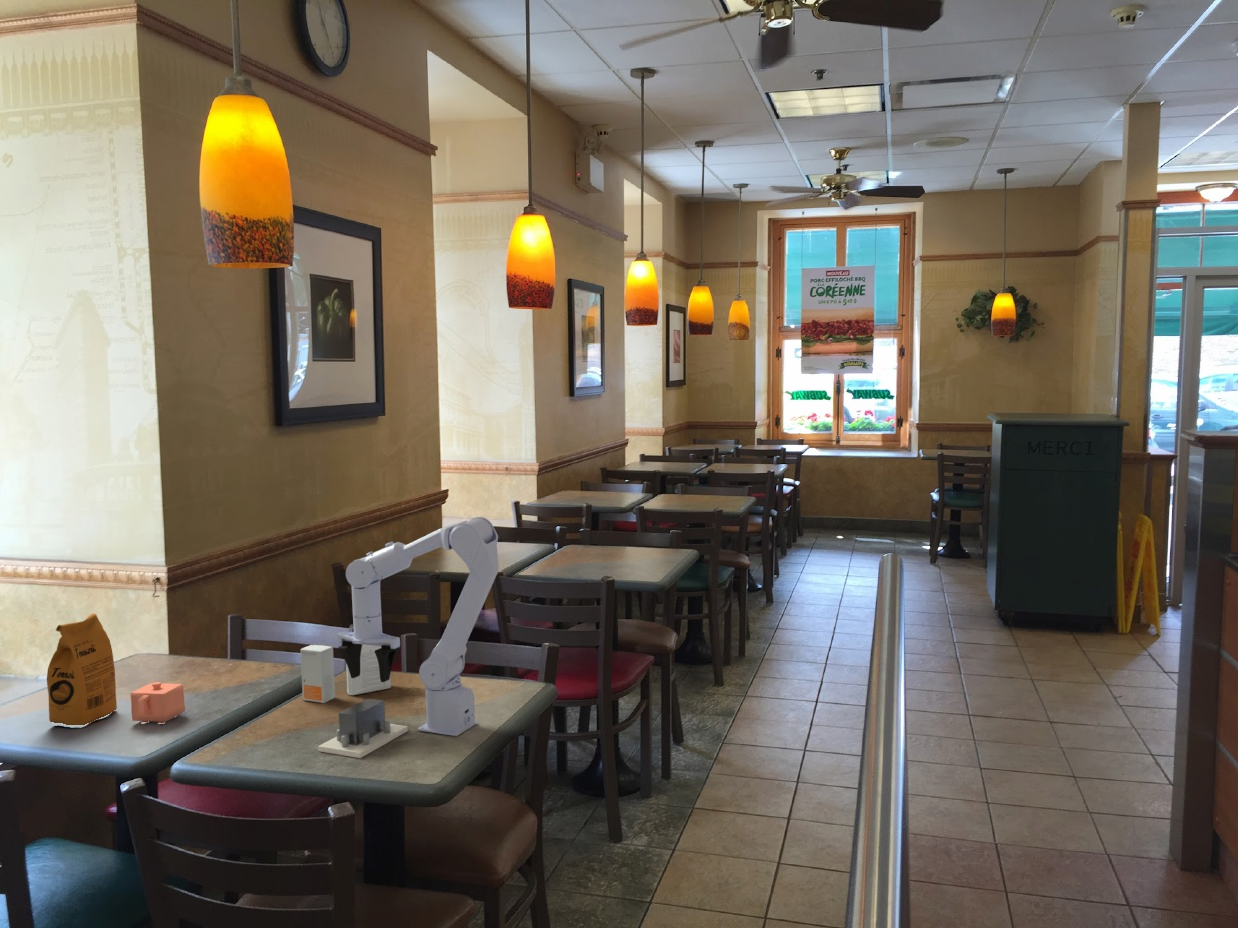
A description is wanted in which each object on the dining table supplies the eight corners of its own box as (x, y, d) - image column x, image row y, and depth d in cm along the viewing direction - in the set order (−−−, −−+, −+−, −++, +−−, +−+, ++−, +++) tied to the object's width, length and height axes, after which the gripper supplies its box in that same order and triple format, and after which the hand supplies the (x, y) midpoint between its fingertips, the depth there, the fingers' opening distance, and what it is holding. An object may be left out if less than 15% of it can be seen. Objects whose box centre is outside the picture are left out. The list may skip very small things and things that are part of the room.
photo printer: (387, 683, 226) (385, 632, 225) (394, 688, 223) (392, 636, 222) (344, 692, 221) (342, 640, 220) (350, 697, 217) (348, 644, 216)
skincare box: (302, 700, 215) (299, 648, 214) (314, 694, 219) (312, 643, 218) (323, 703, 213) (321, 651, 212) (336, 697, 217) (333, 646, 216)
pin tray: (407, 730, 195) (406, 716, 195) (360, 758, 182) (359, 742, 181) (367, 724, 199) (367, 710, 199) (318, 751, 186) (317, 735, 185)
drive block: (385, 729, 194) (384, 700, 193) (356, 745, 185) (355, 715, 185) (369, 727, 195) (368, 698, 195) (340, 742, 187) (338, 712, 186)
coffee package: (41, 728, 202) (33, 626, 200) (86, 708, 214) (79, 611, 212) (81, 731, 200) (73, 627, 198) (124, 710, 212) (117, 613, 210)
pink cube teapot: (194, 710, 211) (191, 673, 210) (159, 730, 199) (156, 691, 199) (162, 709, 212) (159, 672, 212) (125, 728, 201) (123, 690, 200)
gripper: (326, 616, 198) (329, 680, 199) (383, 622, 192) (386, 688, 193) (348, 608, 204) (351, 670, 205) (405, 614, 198) (407, 677, 200)
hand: (370, 678), depth 200 cm, fingers open, 7 cm apart
